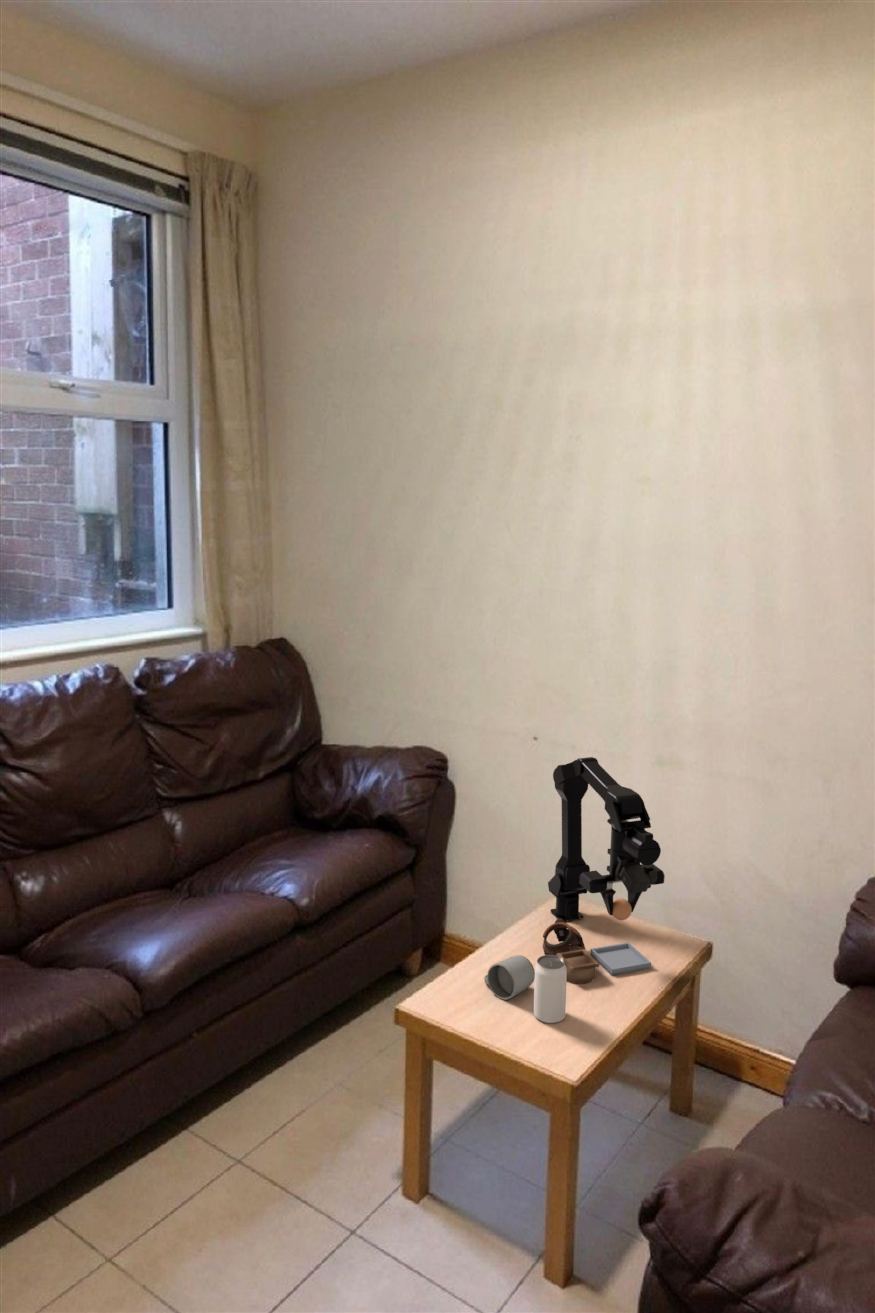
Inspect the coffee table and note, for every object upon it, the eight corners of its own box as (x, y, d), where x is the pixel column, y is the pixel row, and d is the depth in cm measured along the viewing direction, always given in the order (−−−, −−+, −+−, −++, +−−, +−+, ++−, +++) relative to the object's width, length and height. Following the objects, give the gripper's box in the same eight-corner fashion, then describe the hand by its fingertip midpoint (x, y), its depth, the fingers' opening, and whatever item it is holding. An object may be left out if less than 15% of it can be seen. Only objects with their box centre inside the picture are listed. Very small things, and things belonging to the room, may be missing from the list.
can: (570, 1012, 192) (572, 959, 190) (557, 1028, 187) (559, 972, 185) (541, 1003, 196) (542, 950, 194) (528, 1018, 190) (529, 964, 188)
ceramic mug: (537, 990, 201) (537, 957, 200) (514, 1005, 195) (514, 971, 194) (498, 974, 208) (499, 941, 207) (475, 988, 202) (475, 955, 201)
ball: (605, 916, 213) (606, 896, 212) (624, 913, 214) (625, 893, 213) (616, 925, 208) (617, 905, 207) (635, 922, 210) (636, 902, 209)
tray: (590, 954, 216) (590, 948, 216) (628, 948, 219) (628, 942, 219) (611, 975, 207) (611, 969, 207) (651, 968, 210) (651, 962, 210)
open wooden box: (552, 968, 210) (553, 953, 209) (584, 963, 213) (585, 947, 212) (569, 986, 203) (569, 970, 202) (601, 980, 205) (602, 964, 204)
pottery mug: (593, 963, 214) (580, 939, 210) (555, 979, 214) (542, 956, 211) (579, 927, 225) (567, 903, 221) (544, 943, 225) (531, 920, 222)
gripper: (603, 867, 198) (600, 935, 201) (679, 856, 203) (676, 923, 206) (579, 847, 208) (577, 913, 211) (653, 838, 214) (649, 902, 217)
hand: (620, 913), depth 211 cm, fingers closed on ball, 5 cm apart
